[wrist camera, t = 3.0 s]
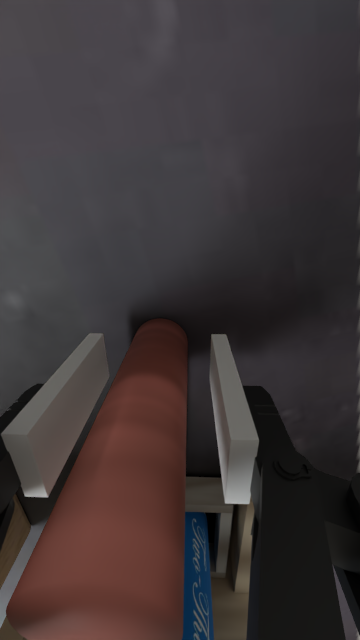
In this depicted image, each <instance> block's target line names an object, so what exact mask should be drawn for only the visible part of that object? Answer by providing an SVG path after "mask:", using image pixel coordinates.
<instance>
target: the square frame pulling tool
mask: <svg viewBox="0 0 360 640" xmlns="http://www.w3.org/2000/svg"><path fill="white" fill-rule="evenodd" d="M187 369H188V339H187V336H186V333H185V332H184V330H183V329H182V328H181V327H180V326H179V325H178V324H177V323H175V322H173V321H171V320H168V319H162V318H158V319H152V320H149V321H147V322H145V323H144V324H142V325H141V326H140V327H139V329H138V330H137V332H136V334H135V336H134V339H133V341H132V343H131V345H130V347H129V349H128V351H127V353H126V355H125V358H124V360H123V362H122V364H121V366H120V368H119V370H118V372H117V375H116V377H115V379H114V381H113V383H112V385H111V387H110V389H109V391H108V394H107V396H106V398H105V400H104V402H103V404H102V406H101V408H100V411H99V413H98V415H97V417H96V419H95V421H94V423H93V425H92V427H91V430H90V432H89V434H88V436H87V438H86V440H85V442H84V444H83V447H82V449H81V451H80V453H79V455H78V457H77V459H76V461H75V463H74V466H73V468H72V470H71V472H70V474H69V476H68V478H67V480H66V483H65V485H64V487H63V489H62V491H61V493H60V495H59V497H58V499H57V502H56V504H55V506H54V508H53V510H52V512H51V514H50V516H49V519H48V521H47V523H46V525H45V527H44V529H43V531H42V533H41V536H40V538H39V540H38V542H37V544H36V546H35V548H34V550H33V552H32V555H31V557H30V559H29V561H28V563H27V565H26V567H25V569H24V572H23V574H22V576H21V578H20V580H19V582H18V584H17V586H16V588H15V591H14V593H13V595H12V597H11V599H10V601H9V603H8V606H7V609H6V615H7V619H8V621H9V623H10V624H11V626H12V627H13V628H14V629H15V630H16V631H17V632H18V633H19V634H20V635H22V636H23V637H24V638H26V639H28V640H181V639H182V637H183V608H184V548H185V512H210V513H216V521H215V534H214V543H209V560H210V577H219V578H225V574H226V565H227V557H228V548H229V539H230V531H231V522H232V513H233V504H228V503H225V500H224V492H223V484H222V478H210V477H186V429H187Z"/></svg>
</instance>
